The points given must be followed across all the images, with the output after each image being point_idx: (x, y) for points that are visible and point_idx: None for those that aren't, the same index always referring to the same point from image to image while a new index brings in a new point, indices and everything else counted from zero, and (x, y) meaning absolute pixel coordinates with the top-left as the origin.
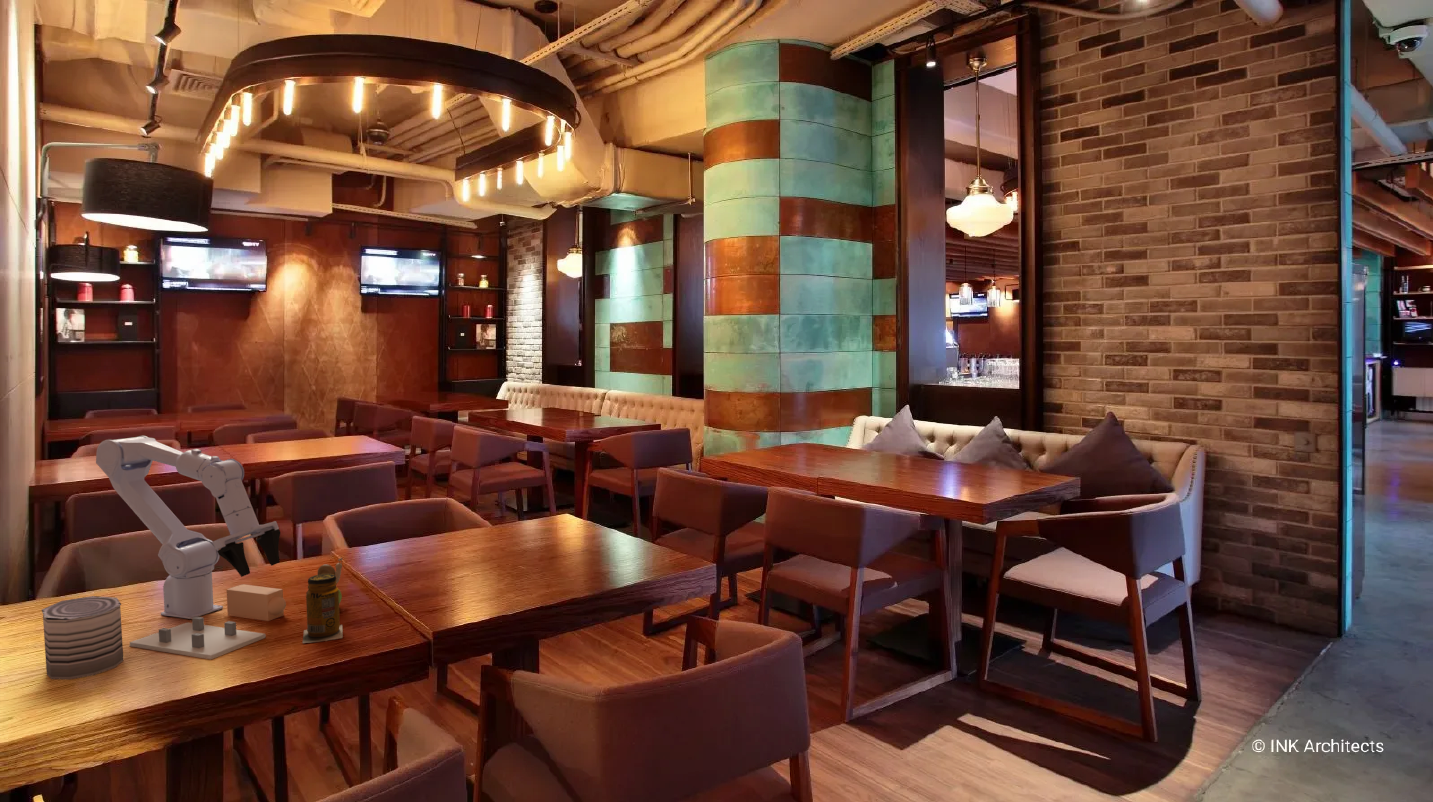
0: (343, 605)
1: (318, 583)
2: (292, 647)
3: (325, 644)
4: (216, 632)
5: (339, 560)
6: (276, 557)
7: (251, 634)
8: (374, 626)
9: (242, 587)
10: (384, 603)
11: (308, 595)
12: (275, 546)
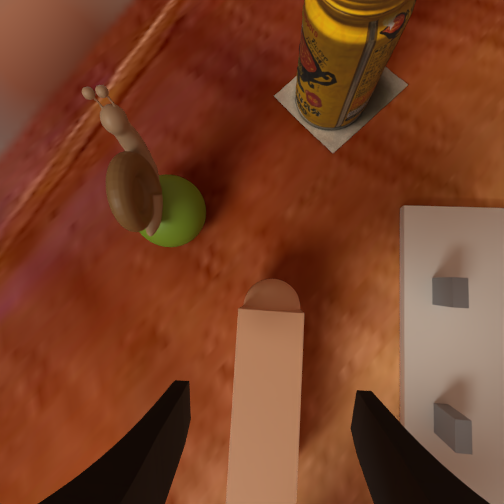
0: None
1: None
2: (429, 93)
3: None
4: (440, 344)
5: (106, 89)
6: (179, 397)
7: (420, 236)
8: (258, 24)
9: (258, 485)
10: None
11: (413, 6)
12: (140, 447)
